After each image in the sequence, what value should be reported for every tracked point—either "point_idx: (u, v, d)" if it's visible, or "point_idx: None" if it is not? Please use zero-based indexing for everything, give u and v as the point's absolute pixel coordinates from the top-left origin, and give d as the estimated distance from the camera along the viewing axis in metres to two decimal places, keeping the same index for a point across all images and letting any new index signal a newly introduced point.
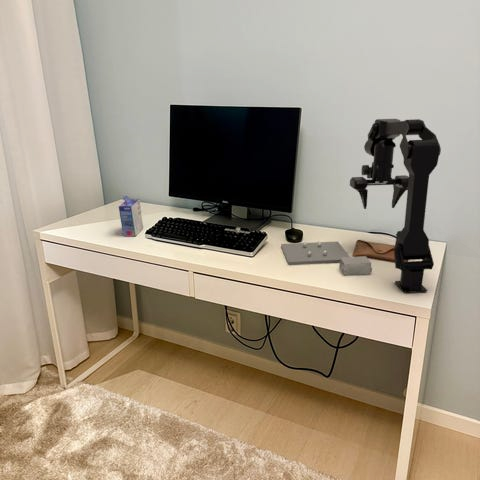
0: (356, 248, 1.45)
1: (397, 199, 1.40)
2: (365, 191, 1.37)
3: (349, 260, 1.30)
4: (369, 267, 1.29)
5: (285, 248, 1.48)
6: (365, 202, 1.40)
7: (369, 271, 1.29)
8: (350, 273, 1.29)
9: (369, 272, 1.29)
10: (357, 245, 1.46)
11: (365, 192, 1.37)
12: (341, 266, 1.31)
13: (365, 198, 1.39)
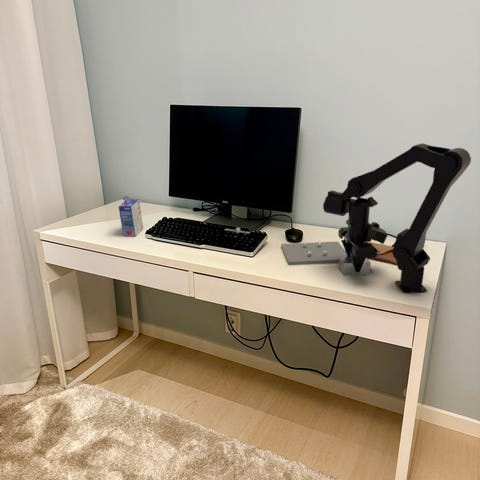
0: None
1: (353, 263, 1.27)
2: (343, 243, 1.33)
3: (348, 259, 1.30)
4: (368, 266, 1.29)
5: (285, 248, 1.48)
6: (347, 256, 1.33)
7: (368, 270, 1.29)
8: (349, 273, 1.29)
9: (368, 272, 1.29)
10: None
11: (343, 245, 1.33)
12: (340, 266, 1.31)
13: None
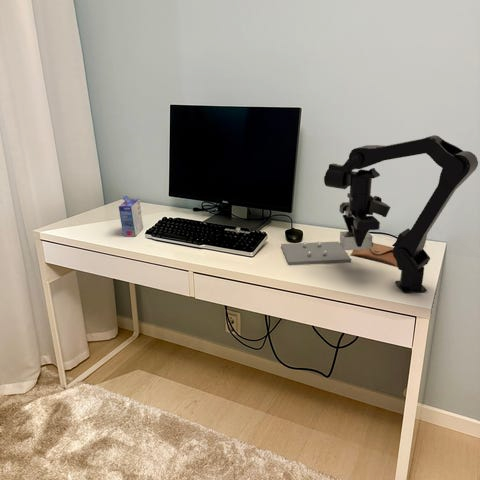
0: None
1: None
2: (344, 218, 1.30)
3: (349, 234, 1.27)
4: (370, 241, 1.26)
5: (285, 248, 1.48)
6: None
7: (370, 245, 1.26)
8: (351, 247, 1.26)
9: (370, 246, 1.26)
10: None
11: (344, 219, 1.30)
12: (341, 240, 1.28)
13: (347, 226, 1.30)
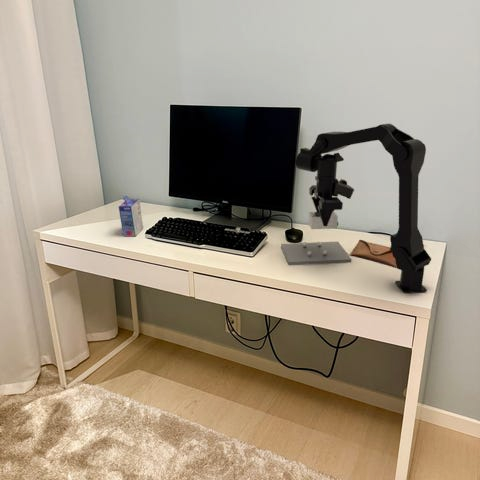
0: (355, 247, 1.45)
1: (321, 216, 1.34)
2: (312, 200, 1.39)
3: (317, 214, 1.37)
4: (335, 220, 1.36)
5: (285, 248, 1.48)
6: None
7: (335, 224, 1.36)
8: (317, 226, 1.36)
9: (335, 226, 1.36)
10: (357, 245, 1.46)
11: (313, 201, 1.40)
12: (309, 220, 1.38)
13: (315, 208, 1.40)
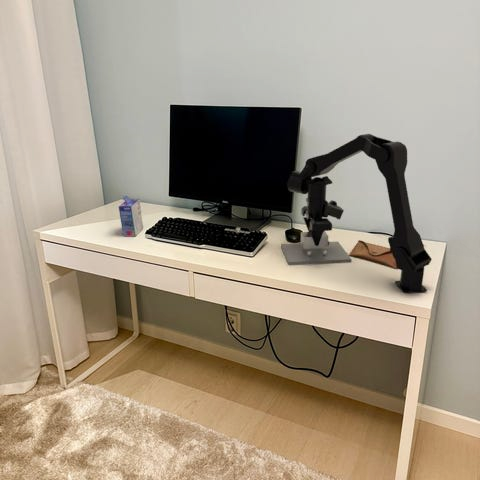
0: (354, 248, 1.45)
1: (312, 237, 1.40)
2: (304, 220, 1.45)
3: (308, 234, 1.43)
4: (326, 240, 1.41)
5: (285, 248, 1.48)
6: None
7: (326, 244, 1.42)
8: (309, 246, 1.42)
9: (326, 245, 1.42)
10: (356, 245, 1.45)
11: None
12: (302, 240, 1.44)
13: (307, 228, 1.46)
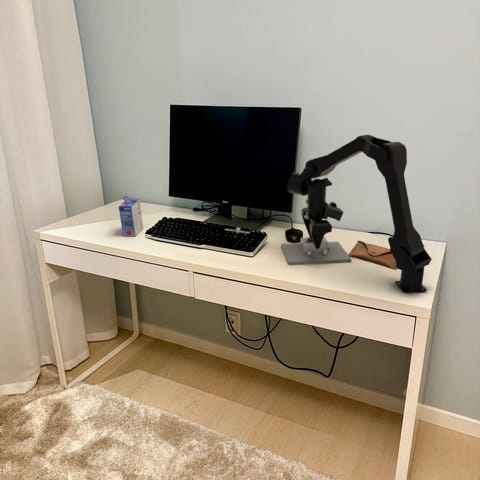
0: (353, 248, 1.44)
1: (313, 240, 1.39)
2: (303, 220, 1.47)
3: (308, 240, 1.43)
4: (326, 246, 1.42)
5: (285, 248, 1.48)
6: (308, 232, 1.47)
7: (326, 250, 1.42)
8: None
9: None
10: (355, 245, 1.45)
11: None
12: (301, 245, 1.44)
13: (306, 228, 1.47)
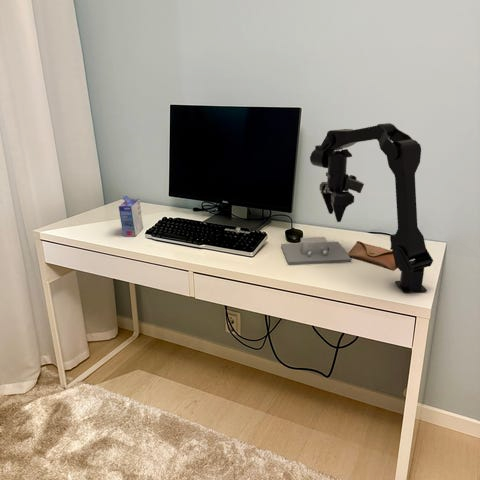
0: (352, 249, 1.44)
1: (334, 212, 1.37)
2: (322, 194, 1.46)
3: (308, 240, 1.43)
4: (326, 246, 1.42)
5: (285, 248, 1.48)
6: (326, 206, 1.47)
7: (326, 250, 1.42)
8: None
9: None
10: (354, 246, 1.45)
11: (322, 195, 1.46)
12: (301, 245, 1.44)
13: None
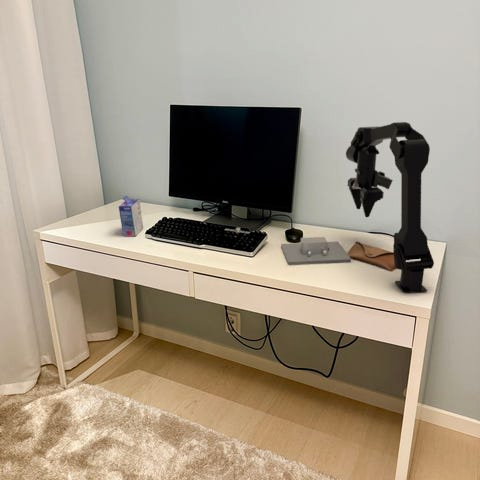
0: (350, 249, 1.44)
1: (363, 208, 1.41)
2: (350, 190, 1.50)
3: (308, 240, 1.43)
4: (326, 246, 1.42)
5: (285, 248, 1.48)
6: (354, 201, 1.50)
7: (326, 250, 1.42)
8: None
9: None
10: (353, 247, 1.44)
11: (350, 191, 1.50)
12: (301, 245, 1.44)
13: None
